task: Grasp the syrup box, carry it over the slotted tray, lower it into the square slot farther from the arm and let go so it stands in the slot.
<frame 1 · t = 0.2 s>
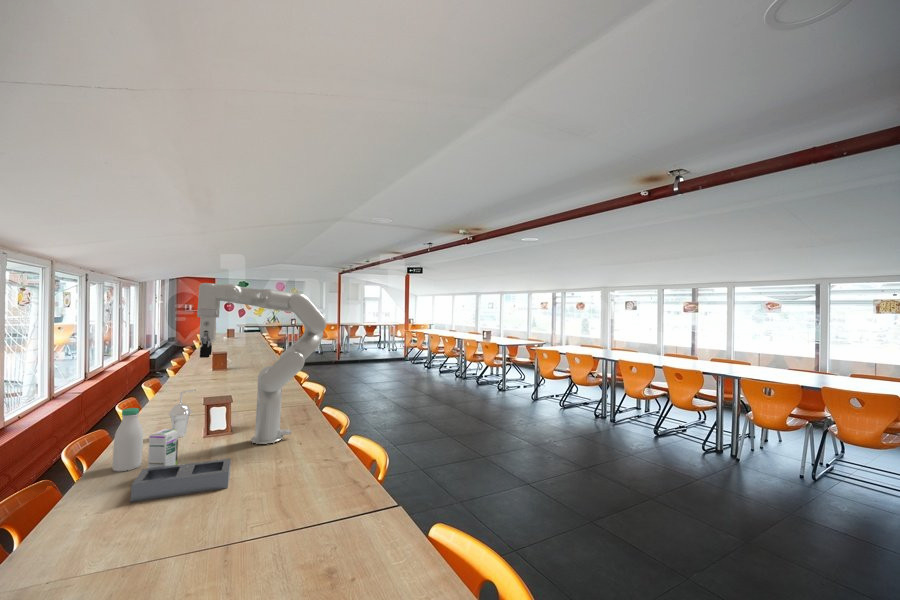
hand: (205, 356, 154), 36 cm above the table, tool pointing down, fingers open, 9 cm apart
slotted tray: (184, 486, 119), on the table
cup with straw: (179, 436, 166), on the table
syrup box: (161, 476, 127), on the table
milk bottle: (126, 468, 132), on the table
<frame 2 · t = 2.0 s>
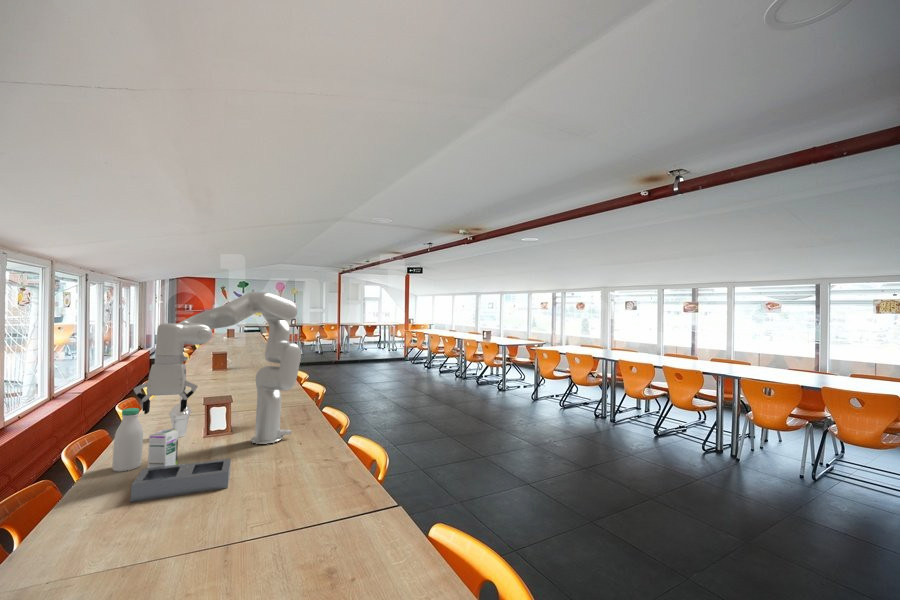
hand: (164, 412, 127), 21 cm above the table, tool pointing down, fingers open, 9 cm apart
nothing on the table moved.
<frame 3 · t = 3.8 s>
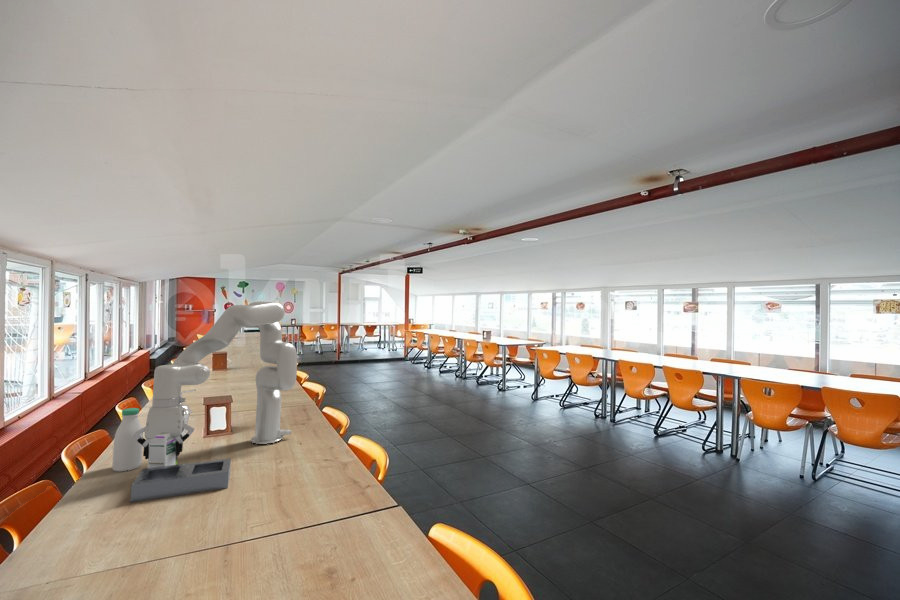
hand: (163, 455, 127), 6 cm above the table, tool pointing down, fingers closed on syrup box, 7 cm apart
syrup box: (161, 476, 127), on the table, touching gripper
everything else where it was.
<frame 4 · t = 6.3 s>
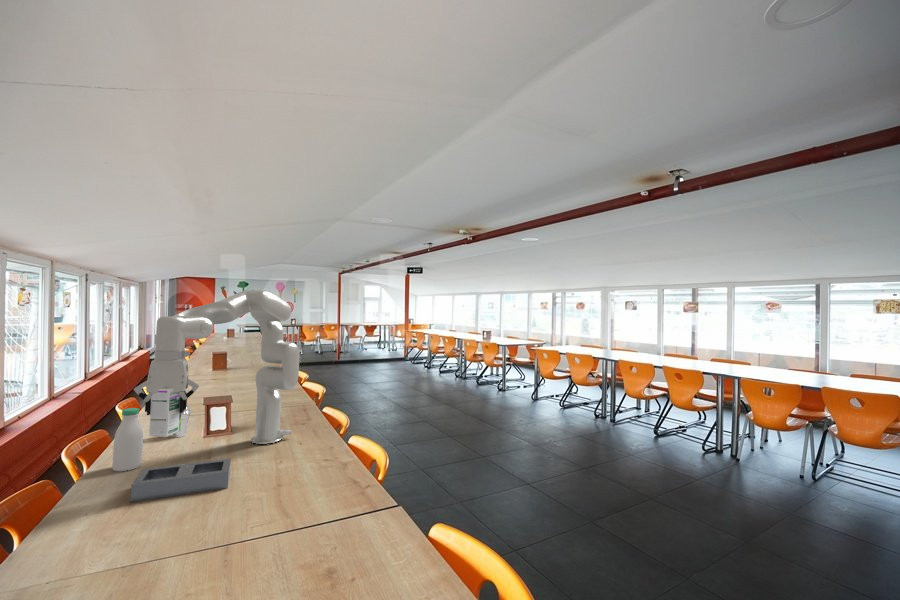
hand: (165, 412, 119), 23 cm above the table, tool pointing down, fingers closed on syrup box, 7 cm apart
syrup box: (164, 434, 118), point 16 cm above the table, touching gripper
everything else where it was.
when the fingers open (8 cm above the table, at t = 9.2 s): syrup box drops 2 cm, resting in slotted tray.
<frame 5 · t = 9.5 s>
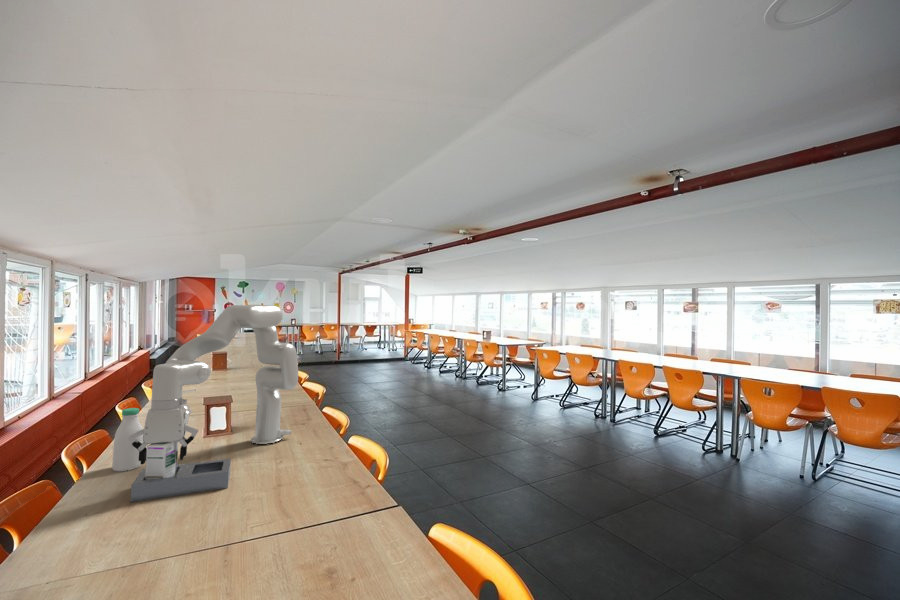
hand: (162, 460, 117), 9 cm above the table, tool pointing down, fingers open, 9 cm apart
syrup box: (160, 490, 117), resting in slotted tray
everything else where it was.
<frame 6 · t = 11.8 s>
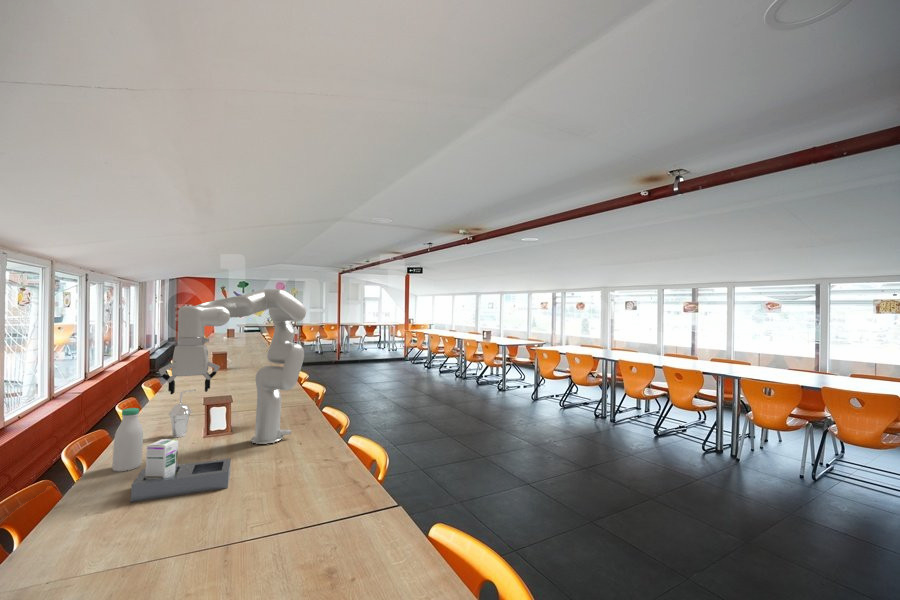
hand: (189, 392, 131), 27 cm above the table, tool pointing down, fingers open, 9 cm apart
nothing on the table moved.
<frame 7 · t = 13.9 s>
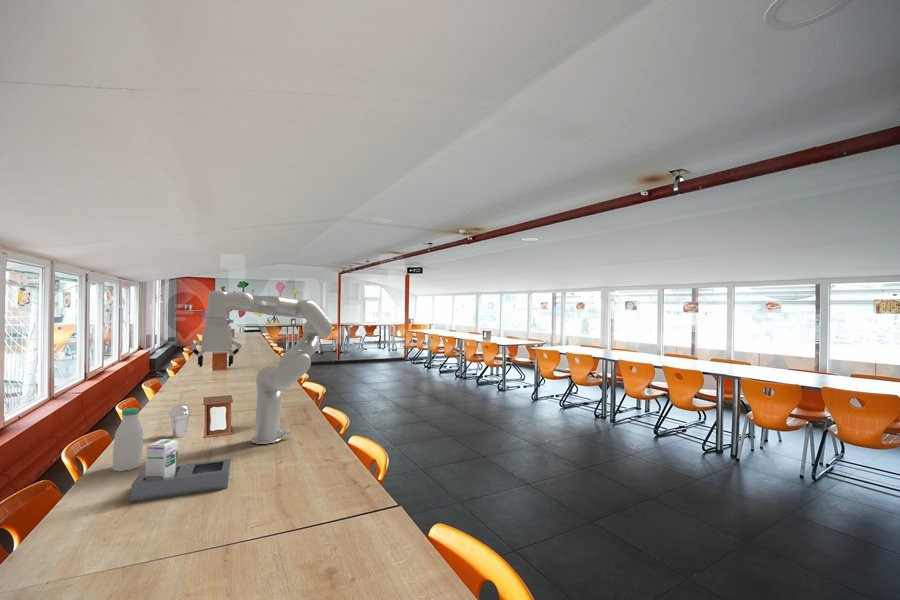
hand: (215, 366, 149), 33 cm above the table, tool pointing down, fingers open, 9 cm apart
nothing on the table moved.
at the end: syrup box 0.3 cm from the target spot on the slotted tray, point 0.0 cm above the slotted tray's base; syrup box tilted 0°; the gripper is holding nothing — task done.
